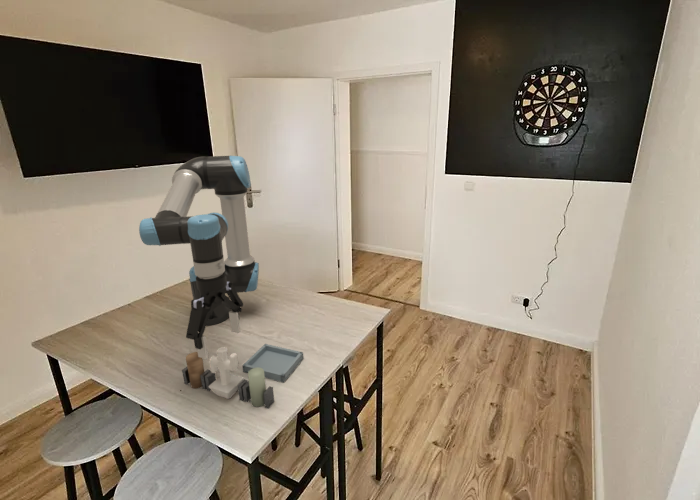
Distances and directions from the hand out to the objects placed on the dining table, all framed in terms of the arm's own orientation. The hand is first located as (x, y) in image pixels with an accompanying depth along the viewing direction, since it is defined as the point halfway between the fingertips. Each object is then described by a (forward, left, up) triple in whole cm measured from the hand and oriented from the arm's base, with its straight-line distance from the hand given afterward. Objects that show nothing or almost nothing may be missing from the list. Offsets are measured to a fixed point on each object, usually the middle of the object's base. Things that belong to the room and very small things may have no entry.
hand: (220, 343), depth 103 cm
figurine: (0, 0, -17) cm, 17 cm away
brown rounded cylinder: (-11, 0, -17) cm, 20 cm away
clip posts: (0, 0, -17) cm, 17 cm away
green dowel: (+11, 0, -17) cm, 20 cm away
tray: (+6, +16, -17) cm, 24 cm away
